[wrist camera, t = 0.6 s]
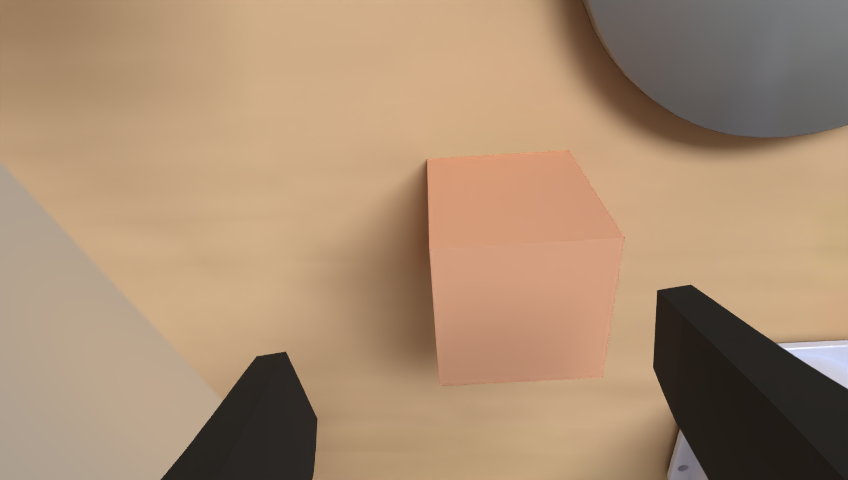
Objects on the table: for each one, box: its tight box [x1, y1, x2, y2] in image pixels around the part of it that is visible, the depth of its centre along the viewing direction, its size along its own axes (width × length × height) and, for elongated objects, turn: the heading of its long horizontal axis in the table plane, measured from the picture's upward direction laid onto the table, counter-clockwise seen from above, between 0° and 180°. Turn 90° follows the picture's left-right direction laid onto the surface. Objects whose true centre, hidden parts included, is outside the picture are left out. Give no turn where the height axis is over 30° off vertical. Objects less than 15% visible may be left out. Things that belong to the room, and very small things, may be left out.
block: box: [427, 150, 625, 386], centre depth 17 cm, size 5×5×6 cm
